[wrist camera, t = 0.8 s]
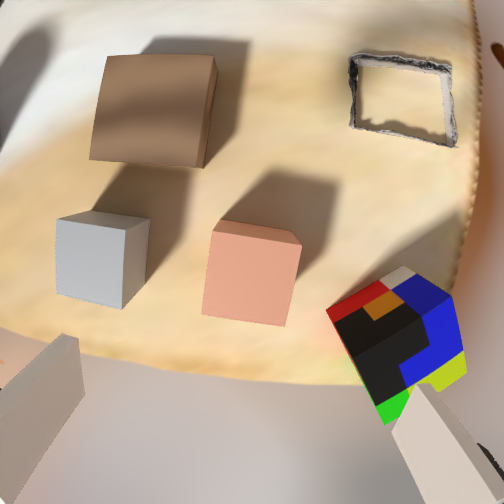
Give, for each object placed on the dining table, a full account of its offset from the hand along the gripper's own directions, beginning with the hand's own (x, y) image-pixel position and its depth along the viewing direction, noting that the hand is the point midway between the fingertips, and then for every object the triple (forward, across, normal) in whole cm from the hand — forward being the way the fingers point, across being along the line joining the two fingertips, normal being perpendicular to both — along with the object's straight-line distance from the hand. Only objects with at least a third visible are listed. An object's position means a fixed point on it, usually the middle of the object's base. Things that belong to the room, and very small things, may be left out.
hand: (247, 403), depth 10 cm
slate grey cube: (+22, -14, -1) cm, 26 cm away
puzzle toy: (+22, +16, -5) cm, 28 cm away
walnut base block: (+22, -11, +13) cm, 28 cm away
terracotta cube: (+22, 0, 0) cm, 22 cm away
